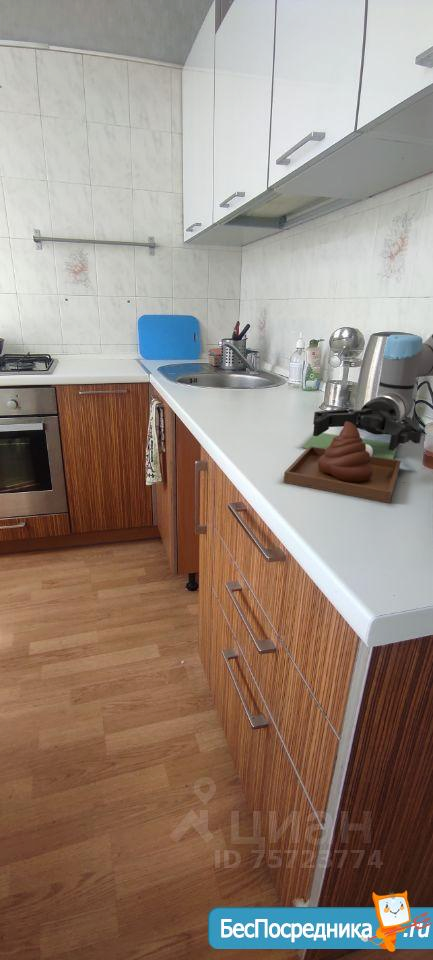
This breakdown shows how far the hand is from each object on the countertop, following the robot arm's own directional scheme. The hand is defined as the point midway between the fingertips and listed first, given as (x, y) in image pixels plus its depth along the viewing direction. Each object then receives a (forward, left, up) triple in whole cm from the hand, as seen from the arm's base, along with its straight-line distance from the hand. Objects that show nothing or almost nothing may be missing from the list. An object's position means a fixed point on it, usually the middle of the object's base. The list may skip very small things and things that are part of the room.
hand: (352, 435), depth 82 cm
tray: (0, +2, -7) cm, 7 cm away
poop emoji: (0, +2, -7) cm, 7 cm away
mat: (+2, -17, -7) cm, 18 cm away
